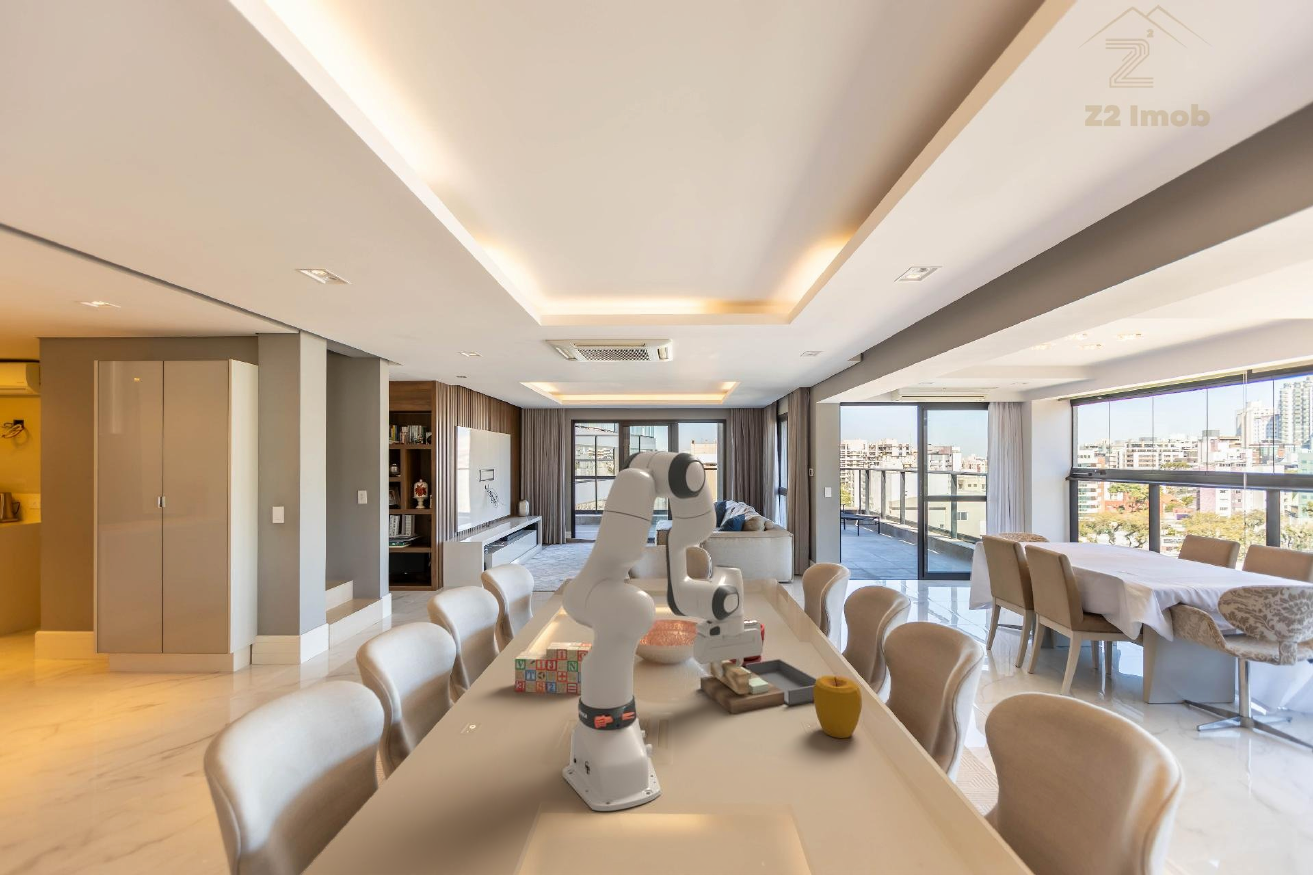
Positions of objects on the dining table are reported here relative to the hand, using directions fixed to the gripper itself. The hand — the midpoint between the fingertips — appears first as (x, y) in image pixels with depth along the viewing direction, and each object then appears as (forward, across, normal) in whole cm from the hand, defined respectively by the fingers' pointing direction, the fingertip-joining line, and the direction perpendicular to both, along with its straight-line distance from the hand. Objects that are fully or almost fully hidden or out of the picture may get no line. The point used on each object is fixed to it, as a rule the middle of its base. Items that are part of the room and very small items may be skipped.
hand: (729, 675), depth 152 cm
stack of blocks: (+6, +43, -26) cm, 50 cm away
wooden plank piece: (+2, 0, 0) cm, 2 cm away
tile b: (+3, -6, -4) cm, 8 cm away
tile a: (+3, -6, +5) cm, 8 cm away
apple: (+6, -14, +28) cm, 31 cm away
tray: (+6, -18, 0) cm, 19 cm away
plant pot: (+6, -19, -23) cm, 30 cm away
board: (+6, -4, 0) cm, 7 cm away
